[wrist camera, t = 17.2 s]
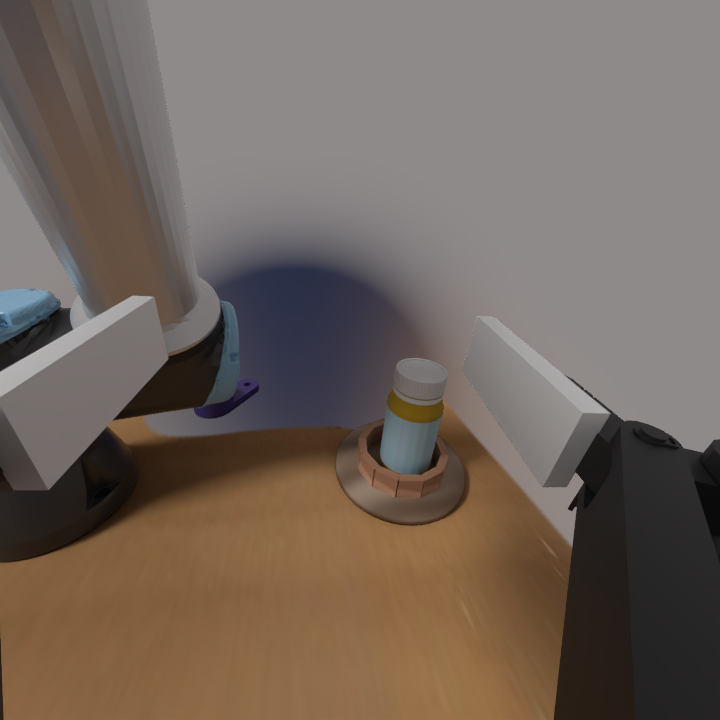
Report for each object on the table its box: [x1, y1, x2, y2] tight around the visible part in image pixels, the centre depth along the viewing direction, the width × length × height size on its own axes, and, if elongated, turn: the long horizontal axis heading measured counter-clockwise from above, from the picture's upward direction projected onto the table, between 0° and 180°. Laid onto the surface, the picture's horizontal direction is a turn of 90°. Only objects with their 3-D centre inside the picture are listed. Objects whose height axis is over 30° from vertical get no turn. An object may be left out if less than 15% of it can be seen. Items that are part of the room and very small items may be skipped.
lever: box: [194, 379, 259, 419], centre depth 56 cm, size 12×6×3 cm, turn 146°
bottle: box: [380, 358, 448, 475], centre depth 41 cm, size 7×7×15 cm
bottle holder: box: [336, 418, 465, 526], centre depth 44 cm, size 18×18×4 cm
